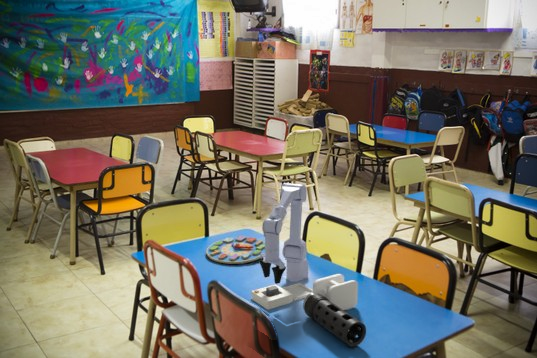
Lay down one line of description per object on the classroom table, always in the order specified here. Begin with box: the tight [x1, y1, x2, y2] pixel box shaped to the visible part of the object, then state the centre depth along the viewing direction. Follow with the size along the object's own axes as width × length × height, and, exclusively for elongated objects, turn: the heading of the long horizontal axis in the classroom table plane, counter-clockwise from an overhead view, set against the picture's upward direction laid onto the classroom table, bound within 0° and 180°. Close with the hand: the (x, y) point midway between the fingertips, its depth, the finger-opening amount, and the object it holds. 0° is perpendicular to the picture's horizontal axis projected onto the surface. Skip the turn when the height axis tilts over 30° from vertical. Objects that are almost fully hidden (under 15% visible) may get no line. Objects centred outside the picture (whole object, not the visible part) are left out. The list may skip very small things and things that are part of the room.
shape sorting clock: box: [205, 235, 265, 265], centre depth 288 cm, size 31×30×6 cm
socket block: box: [250, 283, 293, 310], centre depth 235 cm, size 12×12×5 cm
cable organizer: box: [312, 273, 359, 311], centre depth 229 cm, size 15×11×12 cm
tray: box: [282, 282, 313, 302], centre depth 242 cm, size 11×11×2 cm
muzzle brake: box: [302, 293, 367, 349], centre depth 210 cm, size 10×28×10 cm, turn 29°
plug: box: [266, 285, 279, 297], centre depth 235 cm, size 4×3×6 cm
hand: (272, 279), depth 234 cm, fingers open, 7 cm apart
